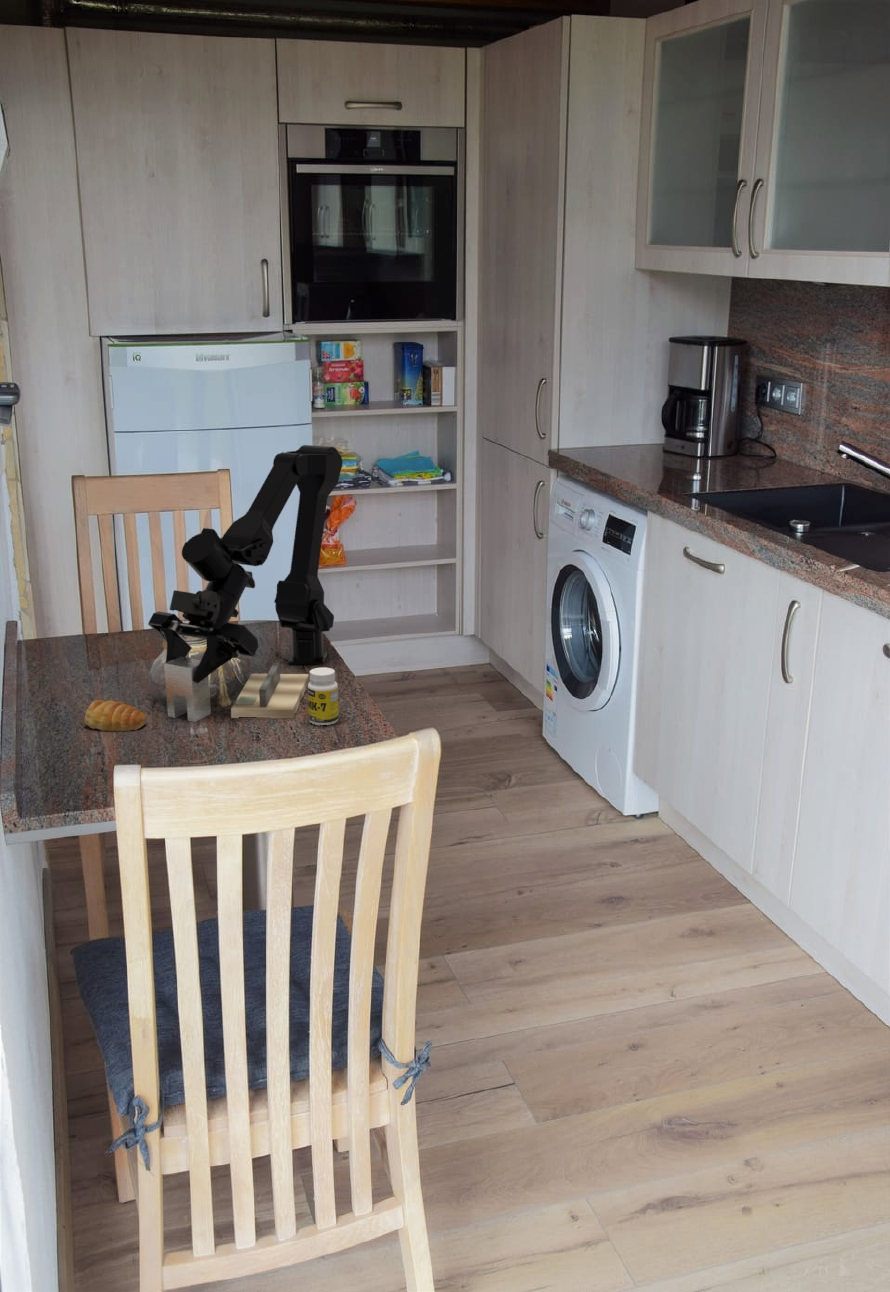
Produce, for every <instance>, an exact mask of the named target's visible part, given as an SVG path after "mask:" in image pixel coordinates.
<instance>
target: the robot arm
mask: <svg viewBox="0 0 890 1292" xmlns="http://www.w3.org/2000/svg"><path fill="white" fill-rule="evenodd" d="M272 462H273V463H272V464H273V465H272V467H271V470H270V471H269V472H268V474H267V476H266V478H265V480H264V482H263V483H262V485H261V487H260V489H259V490H258V492H257V494H256V496H255V498H254V499H253V501H252V503H251V505H250V506H249V509H247V510H248V511H246V513H245V514H244V515H243V516H241V517H240V518H238V519H236V520H234V521H233V522H232V523H231V525H230V526H229V527H228V528H227V529H226V531H225V533H223V535H222V537H220V536H219V534H218V532H217V531H216V530H215V529H214V528H208V527H207V528H206V527H204V528H203V529H202V531H201V532H200V533H197V534H195V535H194V536H192V537H191V538H190V539H188V540H187V542H185V543H184V544H183V546H182V549H181V556H182V558H183V560H184V561H185V562H186V563H187V564H188V565H189V567H191V568H192V569H193V571H195V573H196V574H197V576H199V577H200V578H201V579H202V580H204V581H206V582H208V583H207V585H206V587H205V589H203V590H198V591H196V593H195V592H194V593H193V592H189V591H183V590H182V591H180V590H173V593H172V597H171V601H170V606H169V610H170V611H172V612H175V611H177V612H180V613H183V614H182V617H183V618H184V620H186V621H188V623H184V621H182V620H181V619H180V618H179V617H178V616H177V615H176V613H171V612H165V611H156V612H154V613H152V616H151V617H150V619H149V621H148V623H147V625H149V626H150V628H151V629H152V630H153V631H155V633H156V634H157V635H159V636H160V637H161V638H162V636H163V638H165V637H166V640H165V641H166V657H165V663H166V662H169V661H171V660H174V659H176V658H179V657H186V658H187V656H188V655H189V653H190V652H191V650H192V649H193V647H192V646H191V645H190V644H189V643H188V642H187V640H188V638H189V637H192V638H198V639H203V640H206V647H205V651H204V653H203V655H202V657H201V662H200V664H199V666H198V668H197V670H196V673H195V676H194V679H193V681H194V682H195V683H199V682H201V681H202V680H203V679H204V678H206V677H207V676H210V675H211V674H212V673H213V672H214V671H216V670H218V668H220V667H222V666H223V665H224V664H226V663H227V662H229V661H231V660H232V659H237V658H238V656H239V655H242V656H247V657H255V654H256V652H257V650H258V648H259V640H258V638H257V637H256V636H255V635H254V633H252V632H251V631H250V629H248V628H247V626H245V625H242V624H237V623H232V622H230V621H231V618H238V615H239V613H240V611H238V610H237V608H236V607H237V605H238V603H239V601H240V599H241V597H242V595H243V593H244V591H245V590H246V588H249V589H250V588H251V589H255V587H256V583H255V580H254V577H253V572H252V571H248V570H246V569H245V568H244V567H243V566H251V567H259V566H262V565H264V564H265V563H266V561H267V559H268V557H269V554H270V552H271V550H272V546H273V545H274V535H273V529H274V526H275V524H276V522H277V521H278V519H279V516H280V515H281V514H282V512H283V509H284V508H285V506H286V505H287V502H288V501H289V498H290V497H291V495H292V493H293V491H294V489H295V487H297V489H298V492H299V500H298V507H297V515H296V522H295V523H296V524H295V531H294V537H293V538H294V540H293V546H292V547H293V548H292V555H291V563H290V571H289V573H288V575H287V576H286V577H285V579H284V580H278V582H277V584H276V594H275V598H274V600H273V602H274V604H275V606H274V607H275V612H276V614H277V619H278V622H279V625H280V627H281V628H288V629H290V631H291V632H290V633H291V652H292V653H290V654H291V655H290V656H289V658H288V660H287V662H288V663H287V664H289V665H323V664H324V663H325V660H326V658H327V656H328V651H326V650H324V635H323V632H330V631H331V628H333V626H334V621H335V620H334V619H335V615H334V614H333V613H332V612H331V610H330V609H329V607H328V606H327V605H326V604H325V591H324V588H323V586H322V583H321V581H320V579H319V576H318V575H319V567H320V557H321V551H322V550H321V549H322V542H323V534H324V528H325V527H324V526H325V518H326V511H327V502H328V497H329V496H330V494H332V492H333V491H334V489H335V488H336V486H337V485H338V484H339V479H340V476H341V475H340V474H341V473H342V472H341V471H342V468H343V457H342V455H341V454H340V452H339V451H338V449H337V448H336V447H334V446H327V445H326V446H324V445H323V446H322V445H311V444H309V445H308V444H303V445H301V446H300V447H299V448H298V449H296V450H290V451H286V452H283V451H282V452H280V453H277V454H276V455H275V456H274V459H273V461H272ZM164 636H165V637H164ZM163 638H162V639H163ZM237 652H238V653H237Z"/></svg>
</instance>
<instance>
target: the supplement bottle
mask: <svg viewBox="0 0 890 1292" xmlns="http://www.w3.org/2000/svg"><path fill="white" fill-rule="evenodd" d="M307 705H308V706H307V707H308V709H307V710H308V722H309V723H310V724H311V723H312V725H314V724H315V725H314V726H320V725H321V727H322V725H327V726H331V724H332V725H334V724H336V723H337V722H338V721H339V686H338V683H337V681H336V671H335V669H333V668H330V667H316V668H312V669H311V670H309V683H308V686H307Z"/></svg>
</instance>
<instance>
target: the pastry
mask: <svg viewBox="0 0 890 1292" xmlns="http://www.w3.org/2000/svg"><path fill="white" fill-rule="evenodd" d="M83 722H84V723H85V724H86V725H87V726H88V727H89V728H90V729H91V728H92V729H91V730H95V729H97V730H99V731H103V732H109V731H110V732H129V731H137V730H138V729H141V728H142V727H143V726H144V725H145V724H146V722H147V715H146V713H144V712H143V711H141V710H140V708H136V707H134V706H133V705H130V704H129V705H128V704H126V703H124V701H116V700H112V699H111V700H108V701H104V700H103V699H101V700H99V699H97V700H94V701H92V702H91V703H90V705H89V706H88V707H87V709H86V711H85V716H84V721H83Z"/></svg>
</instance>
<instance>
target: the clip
mask: <svg viewBox="0 0 890 1292" xmlns="http://www.w3.org/2000/svg"><path fill="white" fill-rule="evenodd" d="M200 662H201V660H200V659H197V658H196V659H195V658H190V657H187V656H186V657H179V658H176V659H174V660H171V661H169V662H166V661H165V662H164V663H163V668H164V680H165V692H166V707H167V717H169V718H173V719H176V718H178V717H180V716H182V715H184V714H186V713H187V721H188V722H192V723H196V722H198V721H200V720H202V719H204V718H207V717H208V715H209V716H211V715H212V712H211V711H212V710H211V694H210V679H209V676H210V675H208V676H207V677H206V678H204V679H203V680H202V681H201V682H199V683H195V682H194V681H193V679H194V676H195V673H196V670H197V668H198V666H199V664H200ZM210 714H211V715H210ZM206 716H207V717H206Z"/></svg>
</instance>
